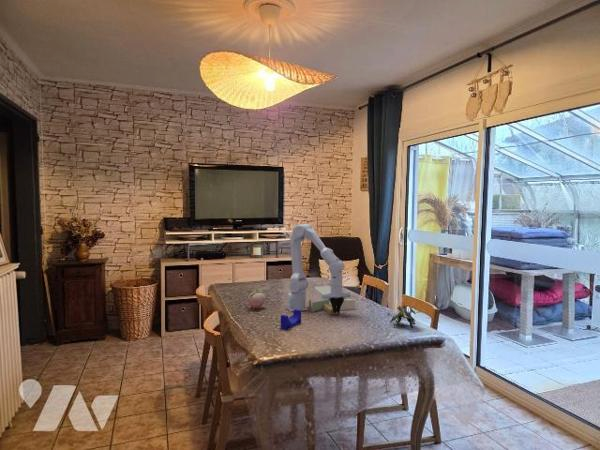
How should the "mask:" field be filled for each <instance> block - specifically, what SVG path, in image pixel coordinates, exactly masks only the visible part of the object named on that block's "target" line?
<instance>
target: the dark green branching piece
mask: <svg viewBox="0 0 600 450" xmlns="http://www.w3.org/2000/svg"><path fill="white" fill-rule="evenodd" d="M396 307H397V310H398V311H399V312H398V313H397V314H396V315H393V316H392V315H391V313H390V312H387V315H386V316H387V317H388V318H389V316H390V317H391V320H390V321H389V324H391V323H392V322H394V323H395V324H394V326H393V328H396V326H397V325H398V324H400V323H401V321H402V319H405V320H406V321H408V323H409V326H410V328H414V326H415V325H416V319H415V318H414V317H413V316H412V313H413V314H414V315H416V311H415V310H414V309H413V308H412V307H409V310H410V311H407V309H405V307H403V306H401V305H398V306H396Z"/></svg>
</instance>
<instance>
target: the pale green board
mask: <svg viewBox="0 0 600 450" xmlns="http://www.w3.org/2000/svg"><path fill="white" fill-rule="evenodd" d="M355 309H356V299H355V298H347V299H344V302H343V303H342V306H341V308H340V311H347V310H355ZM308 313H310V314H311V313H312V300H311V299H309V300H308Z"/></svg>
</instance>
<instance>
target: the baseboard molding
mask: <svg viewBox="0 0 600 450" xmlns="http://www.w3.org/2000/svg"><path fill="white" fill-rule="evenodd" d="M312 288H313V289H315V290H316V291H318V293H319V294H321V296H322V295H324V294H330V293H331V283H330V284H328V285H324V284H323V283H322V284H321V283H320V285H316V284H314V285H313V286H312ZM346 298H347V297H345V298H343V299H344V300H346ZM335 299H336V298H335Z"/></svg>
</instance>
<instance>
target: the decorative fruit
mask: <svg viewBox="0 0 600 450" xmlns="http://www.w3.org/2000/svg"><path fill="white" fill-rule="evenodd" d="M255 290H256V291H253V292H251V293H250V294H249V295H248V296H247V297H248V298H247V302H248V304H249V305H250V306H251V307H252V308H254V309H255V310H257V309H260V308H261V307H262V306H263V305H264V304H265V302H266V299H267V297H266V295H265V292H264V291H262V290H258V289H255Z"/></svg>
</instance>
